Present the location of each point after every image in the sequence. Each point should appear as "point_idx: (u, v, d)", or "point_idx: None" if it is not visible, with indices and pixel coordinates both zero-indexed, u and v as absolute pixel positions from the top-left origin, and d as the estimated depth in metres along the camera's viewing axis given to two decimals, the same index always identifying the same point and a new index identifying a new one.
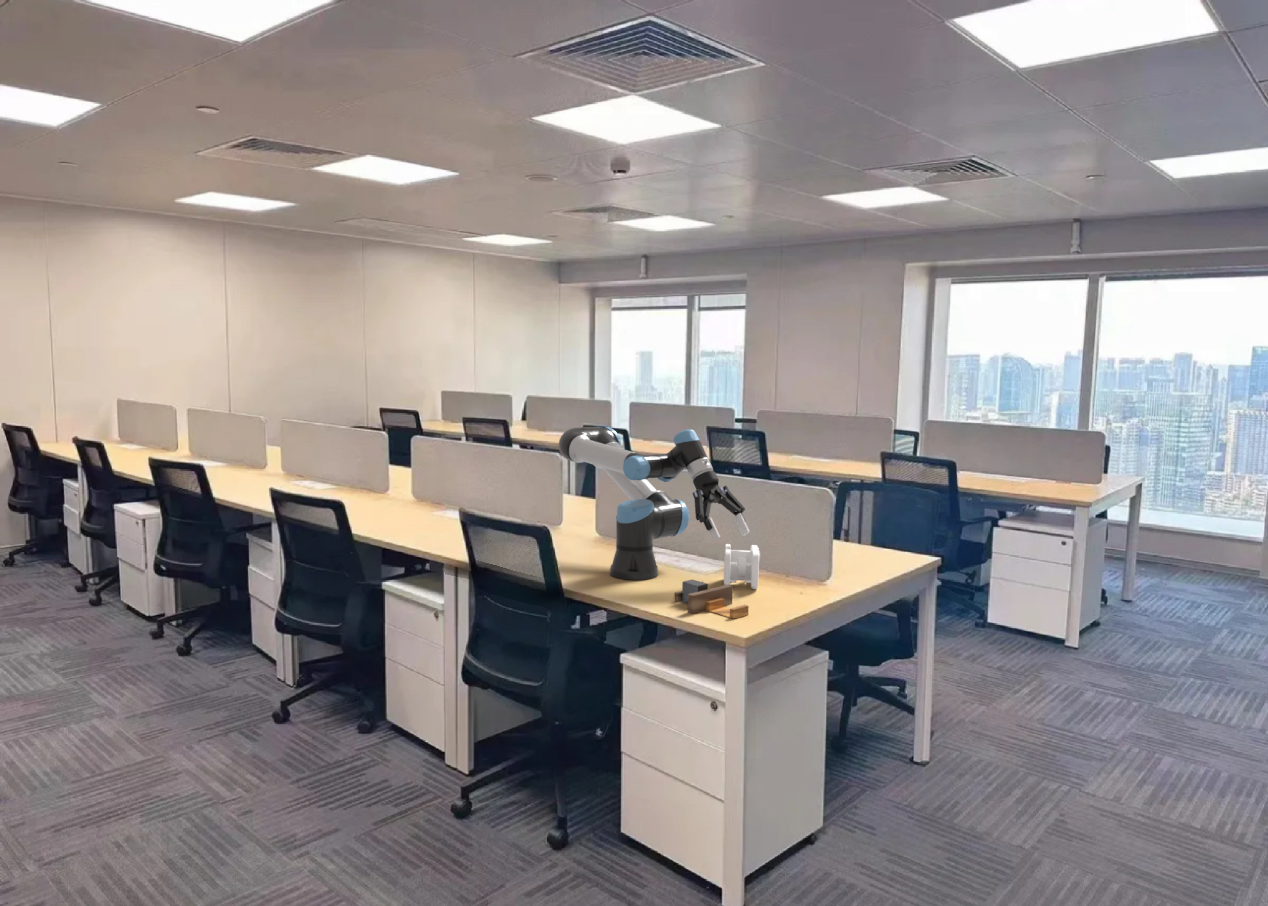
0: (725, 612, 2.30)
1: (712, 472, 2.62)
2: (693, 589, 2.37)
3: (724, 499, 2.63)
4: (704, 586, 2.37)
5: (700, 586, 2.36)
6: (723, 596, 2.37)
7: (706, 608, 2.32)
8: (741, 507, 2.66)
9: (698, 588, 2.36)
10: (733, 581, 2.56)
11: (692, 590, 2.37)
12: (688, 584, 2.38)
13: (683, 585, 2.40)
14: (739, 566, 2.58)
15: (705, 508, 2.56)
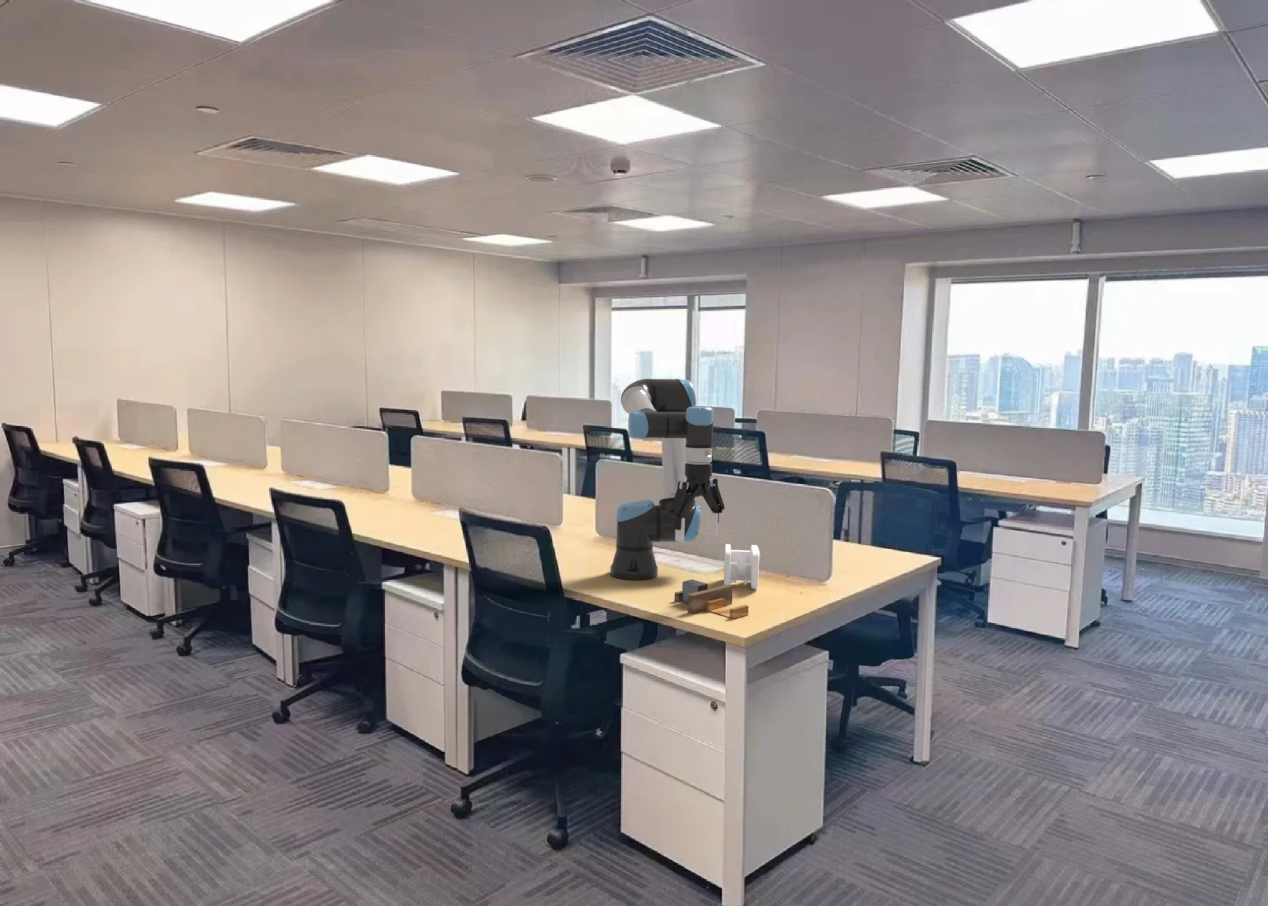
0: (725, 612, 2.30)
1: (709, 467, 2.33)
2: (693, 589, 2.37)
3: (708, 495, 2.38)
4: (704, 586, 2.37)
5: (700, 586, 2.36)
6: (723, 596, 2.37)
7: (706, 608, 2.32)
8: (721, 506, 2.42)
9: (698, 588, 2.36)
10: (733, 581, 2.56)
11: (692, 589, 2.37)
12: (688, 584, 2.38)
13: (683, 585, 2.40)
14: (739, 566, 2.58)
15: (683, 505, 2.32)
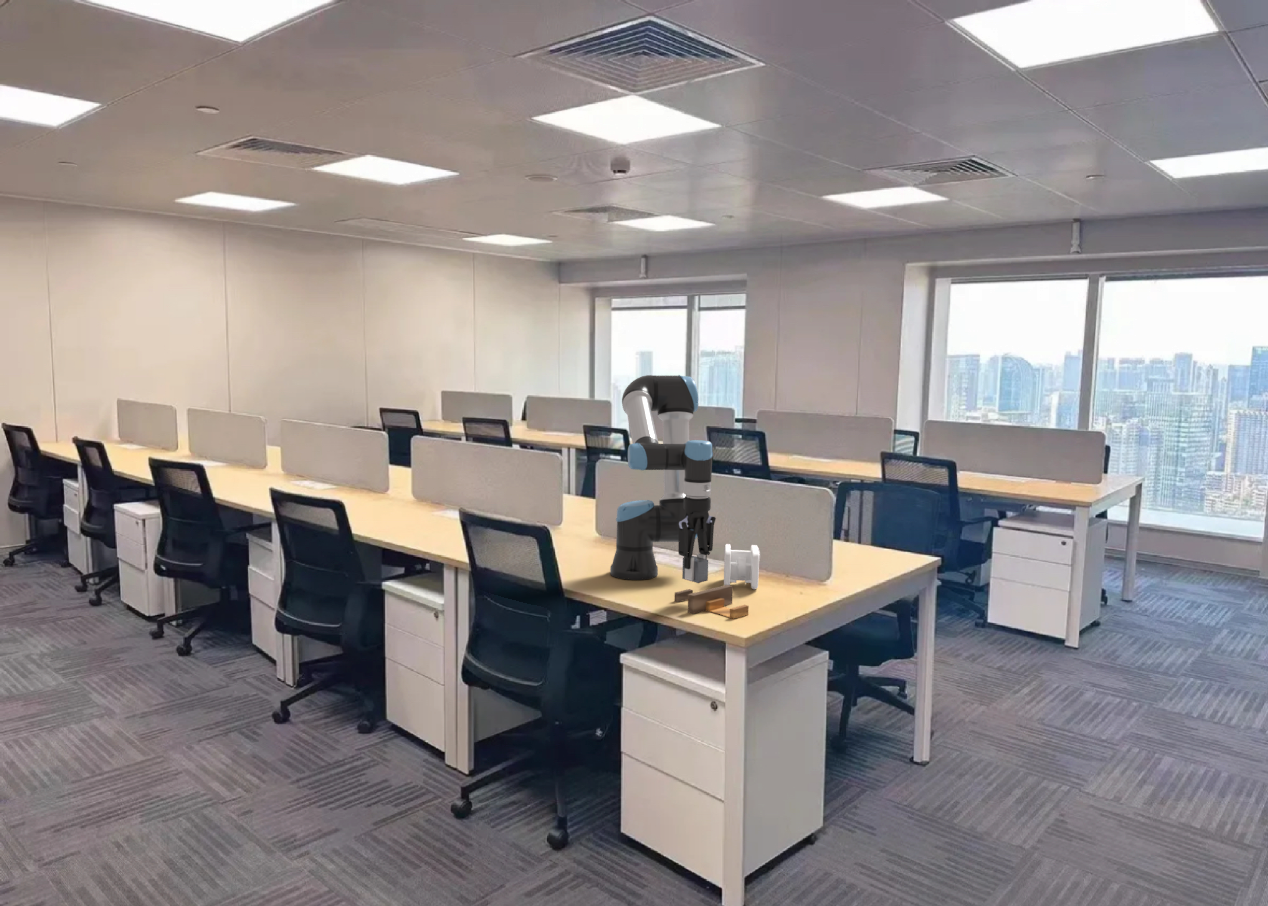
0: (725, 612, 2.30)
1: (707, 501, 2.34)
2: None
3: (702, 531, 2.38)
4: (704, 562, 2.37)
5: (700, 562, 2.36)
6: (723, 596, 2.37)
7: (706, 608, 2.32)
8: (710, 546, 2.41)
9: (698, 564, 2.35)
10: (733, 581, 2.56)
11: None
12: None
13: (683, 561, 2.39)
14: (739, 566, 2.58)
15: (689, 543, 2.36)
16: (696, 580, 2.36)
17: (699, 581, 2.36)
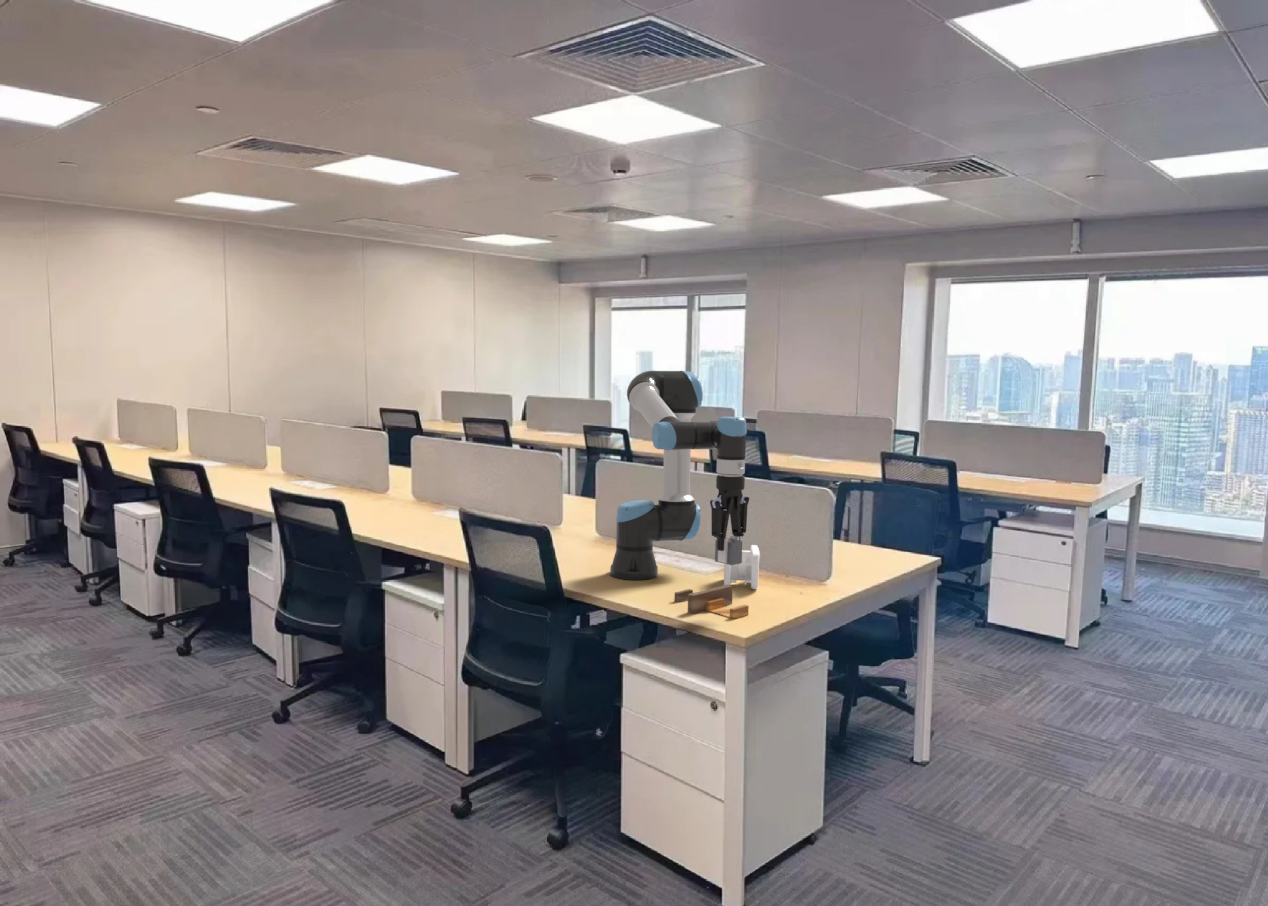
0: (725, 612, 2.30)
1: (741, 480, 2.25)
2: None
3: (736, 511, 2.28)
4: (738, 543, 2.27)
5: (734, 543, 2.26)
6: (723, 596, 2.37)
7: (706, 608, 2.32)
8: (743, 528, 2.31)
9: (732, 545, 2.25)
10: (733, 581, 2.56)
11: None
12: None
13: (716, 543, 2.29)
14: (739, 566, 2.58)
15: (722, 524, 2.26)
16: (730, 562, 2.26)
17: (733, 563, 2.26)
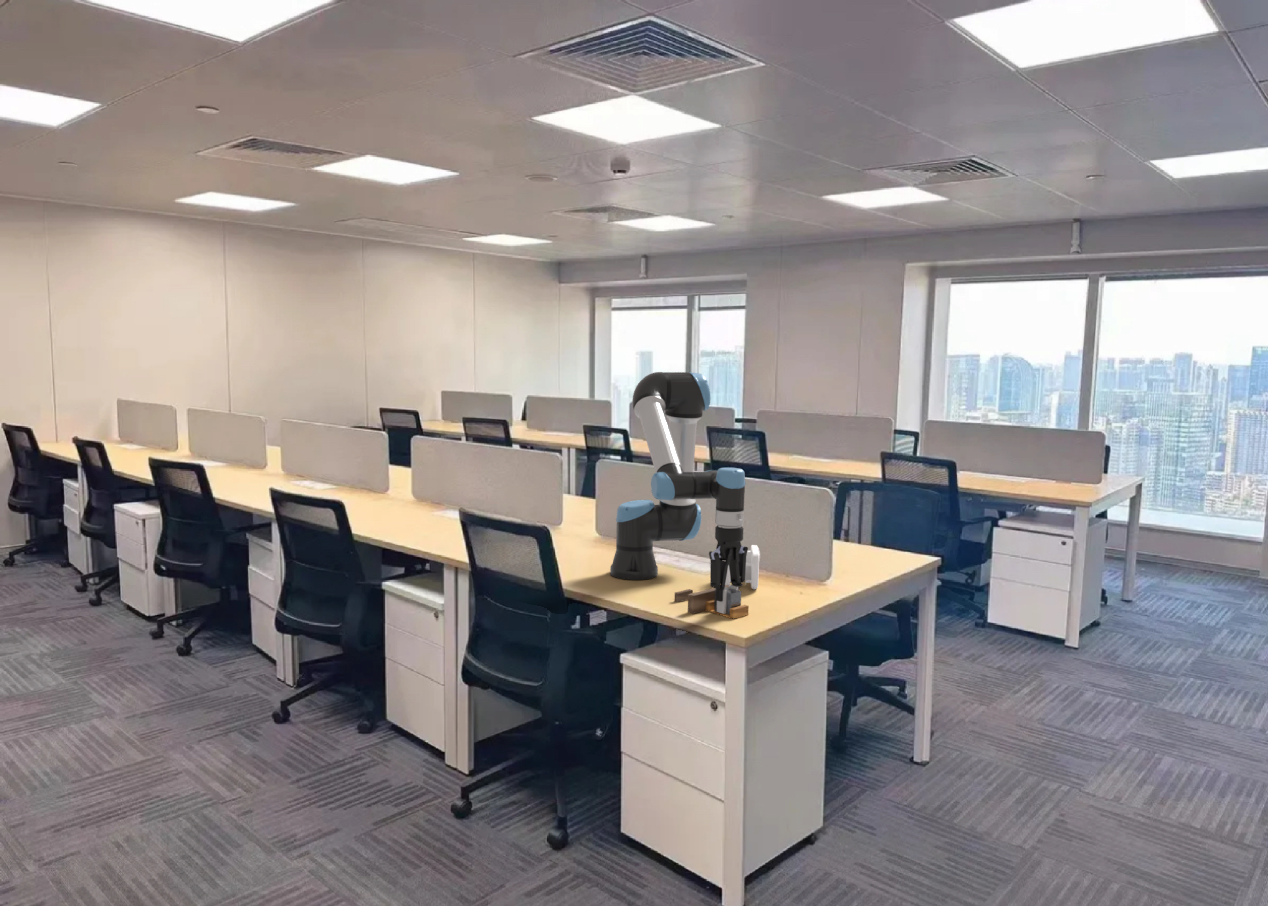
0: None
1: (740, 531, 2.26)
2: (726, 597, 2.28)
3: (735, 562, 2.29)
4: (737, 594, 2.28)
5: (733, 594, 2.27)
6: None
7: (706, 608, 2.32)
8: (742, 577, 2.32)
9: (731, 596, 2.27)
10: None
11: None
12: None
13: (715, 593, 2.31)
14: None
15: (721, 575, 2.27)
16: (729, 612, 2.27)
17: None
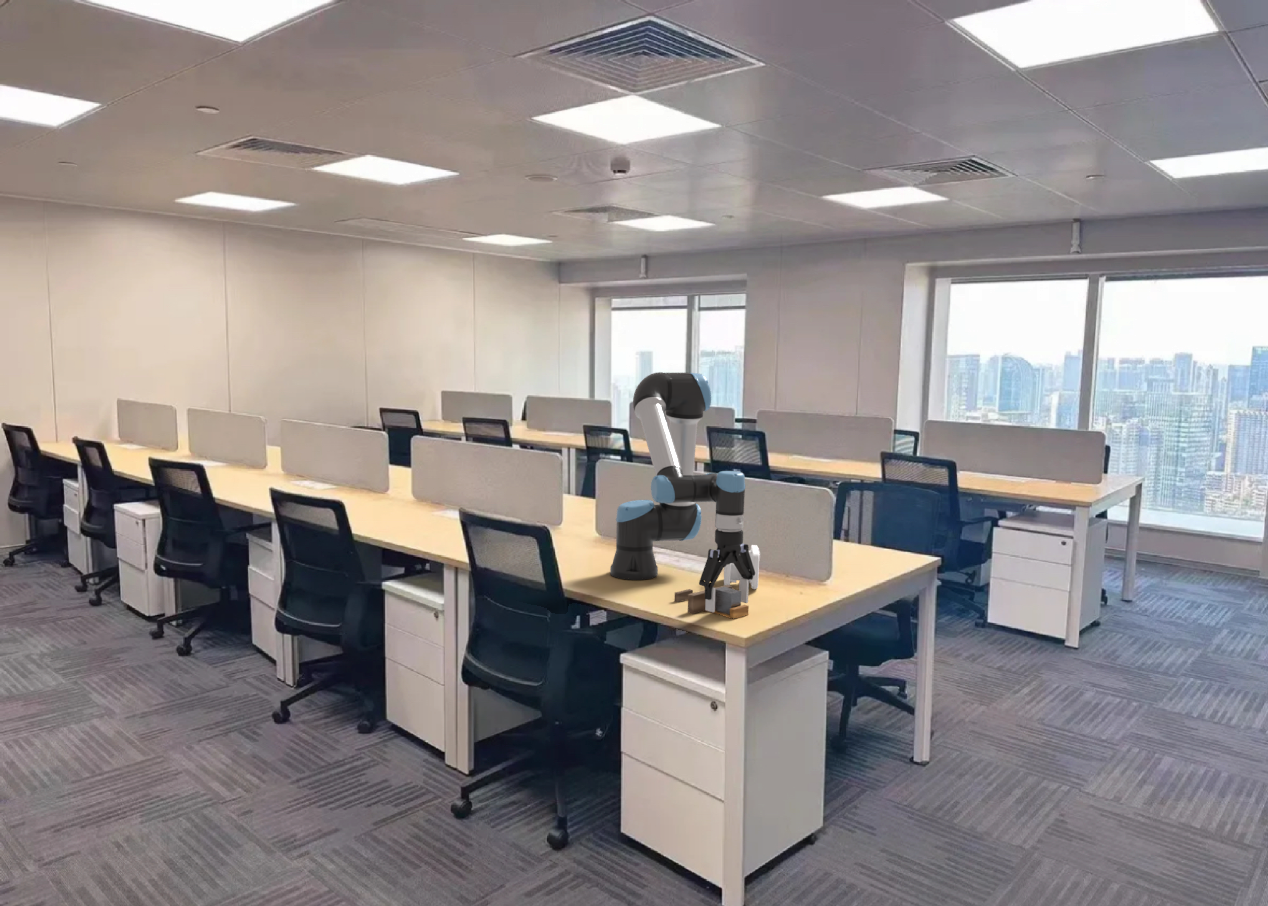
0: None
1: (740, 535, 2.26)
2: (726, 597, 2.28)
3: (738, 562, 2.31)
4: (737, 594, 2.28)
5: (733, 594, 2.27)
6: None
7: None
8: (752, 572, 2.35)
9: (731, 596, 2.27)
10: (733, 581, 2.56)
11: (724, 597, 2.28)
12: (721, 592, 2.29)
13: (715, 593, 2.31)
14: None
15: (714, 573, 2.25)
16: (729, 612, 2.27)
17: None
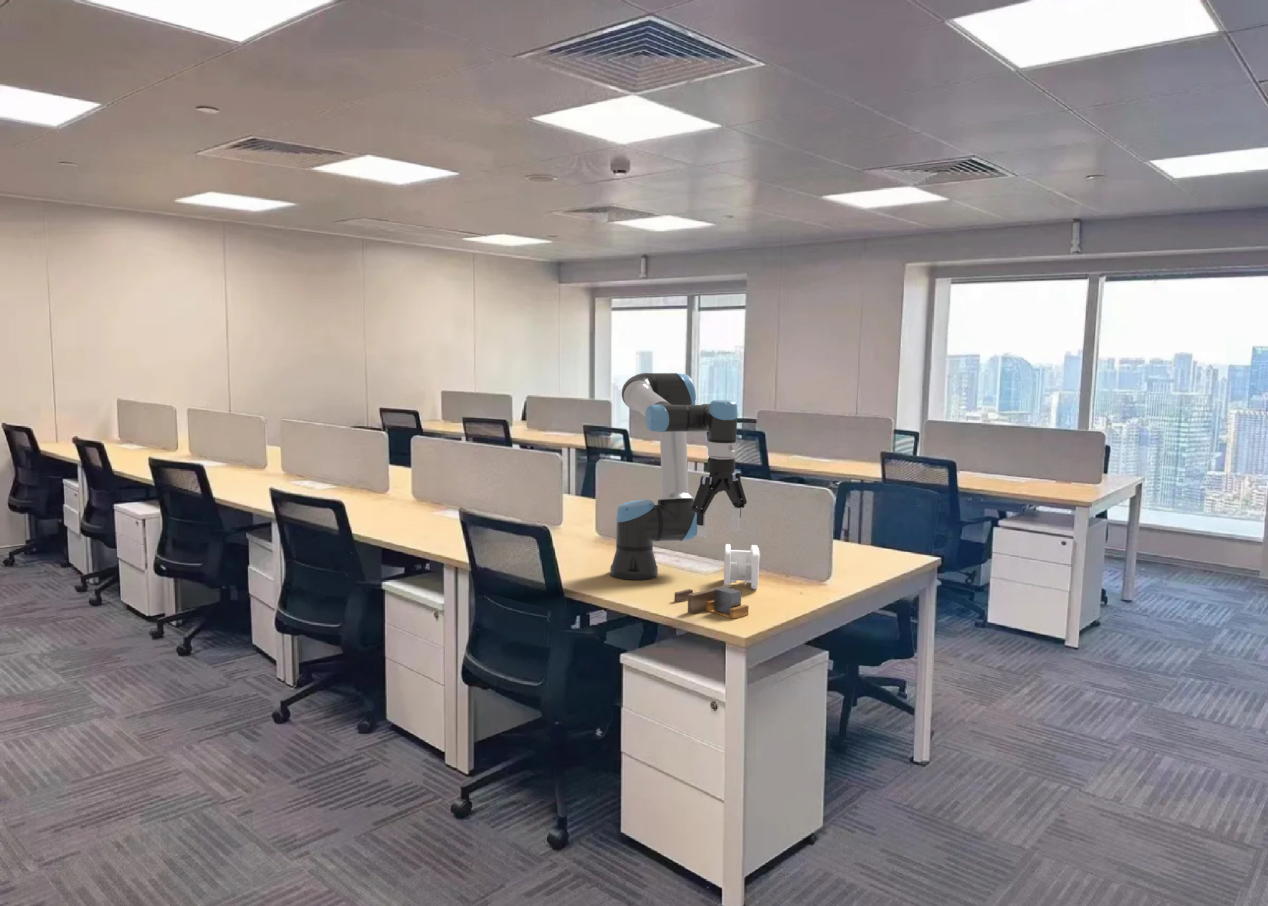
0: None
1: (732, 462, 2.30)
2: (726, 597, 2.28)
3: (730, 490, 2.35)
4: (737, 594, 2.28)
5: (733, 594, 2.27)
6: None
7: (706, 608, 2.32)
8: (743, 500, 2.39)
9: (731, 596, 2.27)
10: (733, 581, 2.56)
11: (724, 597, 2.28)
12: (721, 592, 2.29)
13: (715, 593, 2.31)
14: (739, 566, 2.58)
15: (706, 500, 2.29)
16: (729, 612, 2.27)
17: None
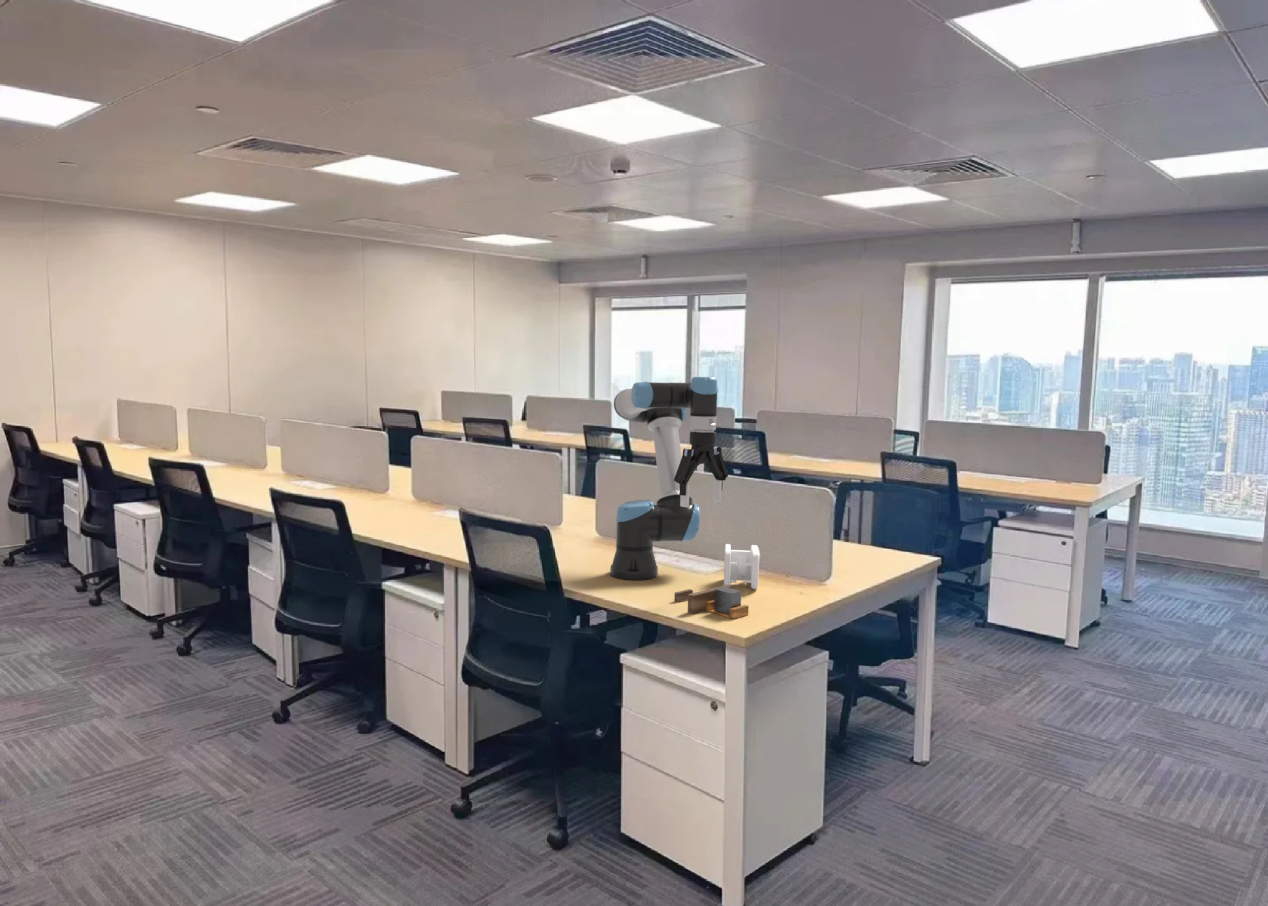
0: None
1: (713, 435, 2.41)
2: (726, 597, 2.28)
3: (712, 463, 2.45)
4: (737, 594, 2.28)
5: (733, 594, 2.27)
6: None
7: (706, 608, 2.32)
8: (725, 473, 2.49)
9: (731, 596, 2.27)
10: (733, 581, 2.56)
11: (724, 597, 2.28)
12: (721, 592, 2.29)
13: (715, 593, 2.31)
14: (739, 566, 2.58)
15: (688, 471, 2.40)
16: (729, 612, 2.27)
17: None
